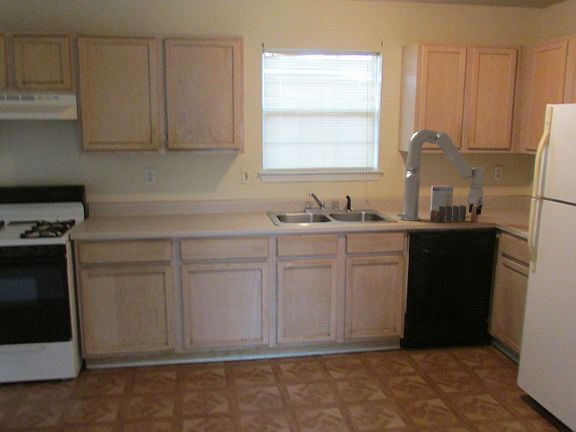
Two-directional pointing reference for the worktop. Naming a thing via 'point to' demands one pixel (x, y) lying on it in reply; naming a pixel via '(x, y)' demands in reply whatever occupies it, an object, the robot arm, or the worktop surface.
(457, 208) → the domino
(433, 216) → the end block
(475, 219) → the domino
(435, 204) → the cracker box
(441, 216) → the domino
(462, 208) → the domino
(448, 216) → the domino
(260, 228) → the worktop surface
